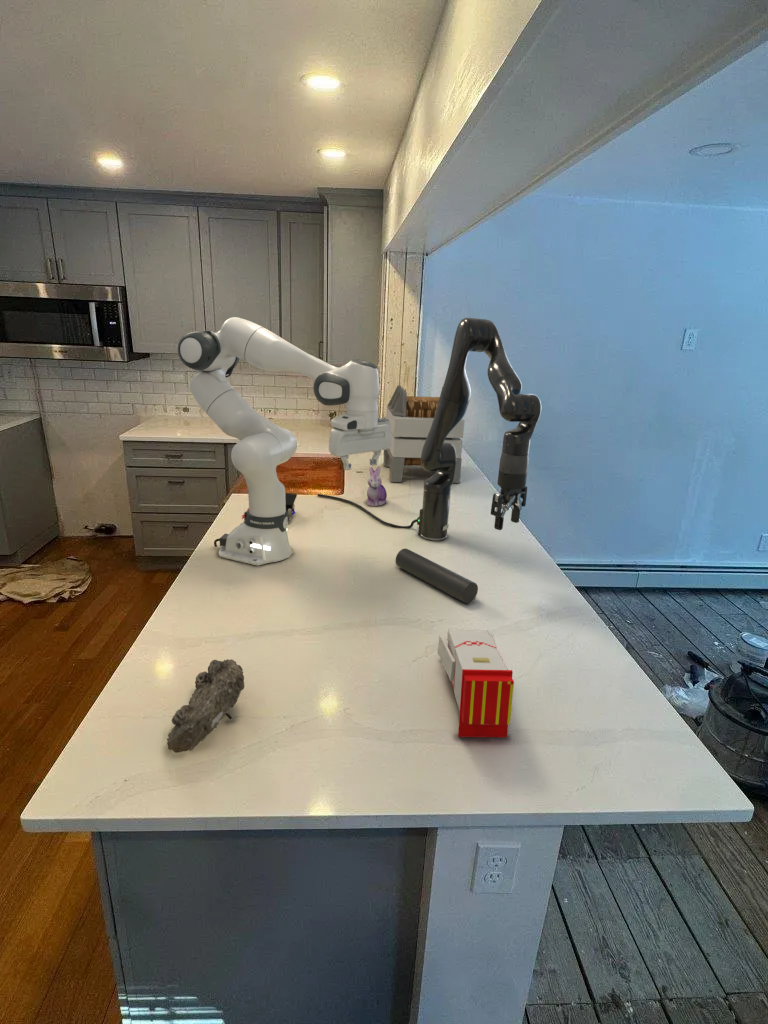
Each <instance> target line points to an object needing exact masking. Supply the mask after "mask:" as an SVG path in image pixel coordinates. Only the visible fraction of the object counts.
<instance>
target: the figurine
mask: <svg viewBox="0 0 768 1024" xmlns="http://www.w3.org/2000/svg"><path fill="white" fill-rule="evenodd" d="M381 469H382V468H381V466H378V467H377V468H376V469H375V470H374V468H373V467H372V466H370V467H369V477H368V479H367V484H368V488H367V491H366V497H367V498H366V504H367V506H370V507H377V506H383V505H385V504H386V502H387V496H388V494H387V493H388V492H387V490H386V488H385V486H384V485H383V484H382V478H381V475H380V474H381Z"/></svg>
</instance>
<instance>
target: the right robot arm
mask: <svg viewBox="0 0 768 1024" xmlns="http://www.w3.org/2000/svg"><path fill="white" fill-rule="evenodd" d="M451 348H452V349H451V353H450V358H449V363H448V367H447V371H446V375H445V379H444V382H443V385H442V387H443V388H442V387H441V391H440V395H439V397H440V398H439V401H438V406H437V410H436V413H435V416H434V419H433V422H432V426H431V428H430V431H429V433H428V436H427V438H426V441H425V443H424V446H423V449H422V452H421V465H422V466H421V467H422V469H423V470H424V471H426V472H428V473H429V472H430V473H431V472H432V473H433V472H434V473H433V474H432V475H431V476H429V477H428V478H426V479H425V480H424V482H423V493H422V496H423V497H422V506H421V508H420V509H419V516H418V517H417V518H416V519H413V520H412V521H411V523H410V524H409V525H398V524H394V523H390V522H387V521H385V520H383V519H381V518H380V517H378V516H376V515H375V514H373V513H372V512H371V511H369V510H367V509H366V508H365V507H363V506H362V505H360V504H358V503H356V502H354V501H351V500H348V499H345V498H342V497H338V496H334V495H333V496H332V495H328V494H322V493H318V494H317V497H320V498H327V499H332V500H337V501H342V502H345V503H347V504H351V505H353V506H355V507H357V508H358V509H360V510H361V511H364V512H365V513H366V514H367V515H369V516H370V517H372V518H373V519H375V520H377V521H378V522H379V523H381V524H383V525H384V526H388V527H391V528H396V529H411V528H413V526H414V524H416V525H417V526H418V530H417V535H418V536H420V538H421V539H424V540H426V541H432V542H440V541H444V540H446V539H447V538H448V529H449V527H450V524H449V517H450V516H449V514H450V504H451V494H452V493H451V491H452V486H453V484H454V483H453V481H454V474H455V467H456V450H455V448H454V446H453V445H452V444H451V443H444V440H445V438H446V437H447V435H448V434H449V433H450V431H451V430H452V429H453V428H454V427H455V426H456V425H457V424H458V423H459V422H460V420H461V419H464V417H465V414H466V412H467V410H468V407H469V403H470V400H471V397H472V389H471V385H470V381H469V378H468V375H467V371H466V364H467V358H468V356H469V353H470V352H473V353H475V352H476V353H484V354H485V355H486V356H487V357H488V358H489V362H488V367H487V378H488V381H489V384H490V385H491V387H492V389H493V391H494V392H495V394H496V397H497V402H498V410H499V414H500V417H502V419H503V420H504V421H506V422H510V423H517V422H518V424H517V426H516V427H513V428H511V429H508V430H506V431H505V432H504V434H503V439H502V447H501V454H500V458H499V466H498V474H497V475H498V476H497V485H498V486H499V487H500V491H499V493H493V495H492V499H491V507H490V515H491V516H494V525H493V527H494V529H495V530H498V531H502V530H503V529H504V520H505V517H504V516H505V515H506V512H508V511H509V510H510V508H511V507H512V509H511V516H510V517H511V518H510V521H511V522H512V523H515V524H518V523H519V522H520V516H521V511H522V510H523V507H526V505H527V498H528V497H527V495H528V486H527V485H526V484H527V478H528V470H529V460H530V459H529V454H530V447H531V439H532V437H533V434H534V432H535V429H536V427H537V425H538V422H539V420H540V418H541V413H542V402H541V399H540V398H539V397H538V395H536V394H534V393H521V392H522V390H523V383H522V381H521V379H520V377H519V376H518V374H517V373H516V371H515V369H514V368H513V367H512V365H511V362H510V361H509V358H508V356H507V352H506V351H505V346H504V344H503V340H502V338H501V336H500V332H499V329H498V328H497V326H496V324H495V322H493V321H492V320H490V319H485V318H477V317H476V318H475V317H464V318H462V319H461V320H460V321H459V322H458V325H457V327H456V330H455V334H454V339H453V344H452V347H451Z"/></svg>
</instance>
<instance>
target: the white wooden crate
mask: <svg viewBox="0 0 768 1024" xmlns="http://www.w3.org/2000/svg"><path fill="white" fill-rule="evenodd" d="M442 388H443V386H442V387H441V389H442ZM407 394H408V393H407V390H406V389H404V388H403V387H402V385H399V384H398V385H397V386H396V388H395V390H394V392H393V394H392V395H391V398H390V400H389V402H388V404H387V405H386V413H385V414H386V415H385V418H387V419H388V420H389V421H390V430H391V446H390V448H389V449H385V450H383V466H384V467H388V468H389V475H388V476H389V477H388V478H389V480H390V482H391V483H402V482H403V475H404V469H405V466H406V467H407V466H411V467H412V466H413V467H415V466H416V467H417V466H418V467H422V465H421V452H422V449H423V446H424V443H425V441H426V438H427V436H428V433H429V431H430V428H431V426H432V422H433V419H434V416H435V413H436V410H437V406H438V401H439V398H440V396H415V395H414V396H413V395H412V396H411V395H407ZM464 429H465V419H464V418H462V419H461V420H460V422H459V423H458V424H457V425H456V426H455V427H454V428H453V429H452V430H451V431H450V433H449V434H448V435H447V437H446V438H445V440H444V443H451V444H452V445H453V446H454V448H455V450H456V467H455V474H454V481H453V484H455V483H456V484H459V483H461V472H462V461H463V460H462V453H463V442H464V441H463V440H462V439H463V438H464V431H465V430H464Z"/></svg>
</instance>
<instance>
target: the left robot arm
mask: <svg viewBox="0 0 768 1024" xmlns="http://www.w3.org/2000/svg"><path fill="white" fill-rule="evenodd" d="M177 354H178V355H177V356H178V357H179V359H180V361H181V363H182V364H183V365H185V366H186V367H187V368H189V369H192V370H194V371H196V372H195V374H194V375H193V376H192V378H191V379H190V381H189V386H188V387H189V391H190V393H191V395H192V396H193V399H195V401H196V403H197V404H198V405H199V406H200V408H201V409H202V411H203V412H204V413H205V414H206V415H207V416H208V417H209V418H210V419H211V420H212V421H213V422H214V424H215V425H216V426H217V427H218V428H219V429H220V430H221V431H222V432H223V433H224V434H225V435H227V436H229V437H232V438H235V439H237V440H239V441H237V443H235V444H234V446H232V448H231V452H230V459H231V463H232V465H233V467H234V468H235V469H236V470H237V471H238V472H239V473H240V474H242V476H243V477H244V478H243V479H244V482H245V484H246V487H247V496H248V508H247V510H246V511H245V512H243V514H242V515H241V520H243V519H244V520H243V522H241V523H240V524H238V525H237V526H236V527H234V528H233V529H232V530H231V531H229V533H224V534H223V535H221V537H219V538H216V539H214V541H213V546H214V548H217V547H218V543H217V542H219V546H220V548H219V550H218V557H220V558H224V559H227V560H232V561H235V562H236V561H237V562H240V563H245V564H249V565H252V566H263V565H265V564H269V563H276V562H281V561H283V560H284V561H285V560H286V559H288V558H289V557H291V555H292V554H293V550H292V547H291V545H290V542H289V536H288V526H289V522H288V518H287V510H286V499H285V493H286V487H285V485H284V484H283V482H281V481H280V480H279V477H278V474H277V467H278V466H281V464H284V463H286V462H288V461H289V460H290V459H291V458H292V457H293V456H294V455H295V454H296V451H297V449H298V440H297V437H296V436H295V434H294V433H293V432H292V431H291V430H290V429H287V428H284V427H282V426H279V425H277V424H276V423H274V422H272V421H271V420H269V419H268V418H266V416H264V415H263V414H260V413H259V412H258V411H257V410H256V409H254V408H253V407H252V406H251V405H250V404H249V403H248V402H247V401H246V399H244V398H243V397H242V396H241V395H240V393H239V392H238V391H237V389H235V388H234V387H233V386H232V385H231V384H230V383H229V381H228V380H227V378H229V377H231V376H232V374H233V372H234V369H235V368H236V367H237V366H238V363H239V360H242V361H244V362H245V363H247V364H249V365H251V367H252V366H253V367H255V368H256V369H259V370H263V371H266V372H270V373H271V372H272V373H273V372H275V373H276V372H277V373H279V372H281V373H282V372H284V373H285V372H287V373H289V372H290V373H297V374H300V375H303V376H305V377H308V378H310V379H311V380H314V381H313V394H314V396H315V398H316V400H317V401H318V402H319V403H320V404H321V405H324V406H328V407H336V406H340V405H344V406H345V407H346V412H343V413H341V414H340V415H338V416H336V417H334V418H332V419H331V420H330V426H331V427H332V428H331V429H330V431H329V437H328V452H329V453H330V455H332V456H334V457H337V458H338V457H340V460H341V462H342V464H343V470H344V471H351V470H352V463H349V461H348V459H349V457H350V456H351V455H358V454H365V453H371V452H372V453H373V454H372V457H371V458H369V465H370V466H371V467H372V466H377V465H378V460H379V458H380V456H381V454H382V451H384V450H385V449H389V448H390V446H391V430H390V421H389V420H388V419H387V418H386V416H384V417H379V406H378V399H379V395H380V393H379V392H380V379H379V370H378V367H377V366H376V365H375V364H374V363H373V362H371V361H368V360H365V359H359V358H358V359H357V358H356V359H351V360H350V361H348V362H347V363H346V364H344V365H341V366H339V365H335V364H332V363H329V362H328V361H326V360H323V359H321V358H319V357H317V356H315V355H313V354H311V353H309V352H307V351H305V350H304V349H301V348H299V347H298V346H296V345H294V344H293V343H291V342H289V341H287V340H286V339H284V338H283V337H281V336H279V335H278V334H276V333H274V332H273V331H271V330H269V329H267V328H265V327H264V326H262V325H261V324H259V323H255V322H254V321H251V320H248V319H245V318H242V317H238V316H232V317H229V318H228V319H226V320H225V321H224V322H223V324H222V325H221V327H220V329H219V330H218V331H217V332H214V331H213V330H196V331H191V332H188V333H186V334H184V335H183V336H182V337H181V338H180V339H179V341H178V344H177Z"/></svg>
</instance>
